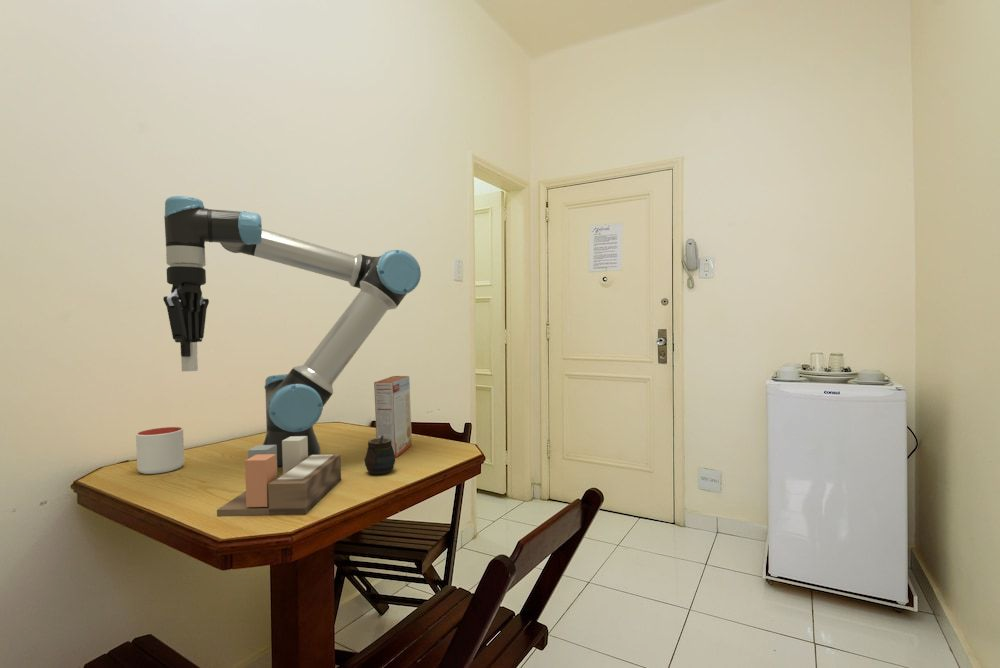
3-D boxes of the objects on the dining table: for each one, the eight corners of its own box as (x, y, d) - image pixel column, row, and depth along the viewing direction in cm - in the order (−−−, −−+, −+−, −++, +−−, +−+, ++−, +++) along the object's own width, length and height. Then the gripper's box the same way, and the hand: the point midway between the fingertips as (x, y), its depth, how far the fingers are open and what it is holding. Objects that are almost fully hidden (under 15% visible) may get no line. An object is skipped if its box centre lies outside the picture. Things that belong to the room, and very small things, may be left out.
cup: (192, 463, 134) (191, 426, 133) (169, 475, 124) (167, 434, 123) (154, 464, 133) (153, 427, 133) (127, 476, 123) (126, 435, 123)
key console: (268, 481, 117) (267, 454, 117) (341, 480, 117) (340, 452, 116) (217, 515, 96) (215, 482, 96) (305, 514, 96) (304, 481, 95)
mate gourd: (389, 466, 127) (388, 427, 127) (400, 473, 121) (400, 432, 121) (361, 471, 123) (360, 431, 123) (371, 479, 117) (371, 436, 117)
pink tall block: (257, 499, 100) (256, 454, 100) (277, 498, 100) (276, 454, 100) (246, 507, 96) (245, 460, 96) (267, 506, 96) (265, 460, 96)
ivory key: (291, 474, 116) (290, 436, 116) (308, 474, 116) (307, 436, 116) (283, 480, 112) (281, 440, 112) (300, 480, 112) (299, 440, 112)
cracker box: (393, 445, 149) (391, 375, 149) (412, 445, 149) (410, 375, 148) (375, 458, 135) (373, 381, 135) (396, 458, 135) (394, 381, 134)
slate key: (259, 486, 108) (258, 445, 108) (277, 486, 108) (276, 444, 108) (249, 493, 104) (247, 450, 104) (268, 492, 104) (267, 449, 104)
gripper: (187, 270, 120) (191, 368, 120) (149, 264, 107) (153, 374, 107) (219, 269, 120) (222, 368, 120) (184, 263, 107) (188, 373, 107)
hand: (189, 370), depth 114 cm, fingers closed
